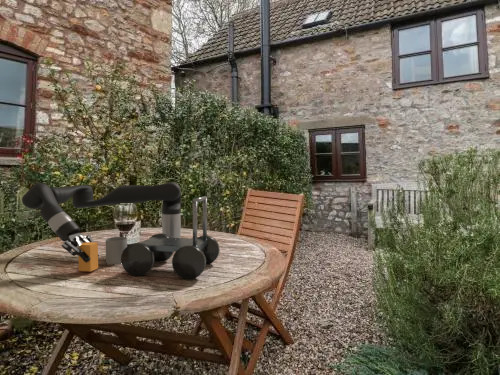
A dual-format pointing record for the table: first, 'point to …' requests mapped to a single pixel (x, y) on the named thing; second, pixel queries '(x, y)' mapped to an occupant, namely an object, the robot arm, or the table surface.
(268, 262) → the table surface
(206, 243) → the trolley
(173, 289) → the table surface
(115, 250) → the cup
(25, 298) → the table surface
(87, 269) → the orange rectangular block
